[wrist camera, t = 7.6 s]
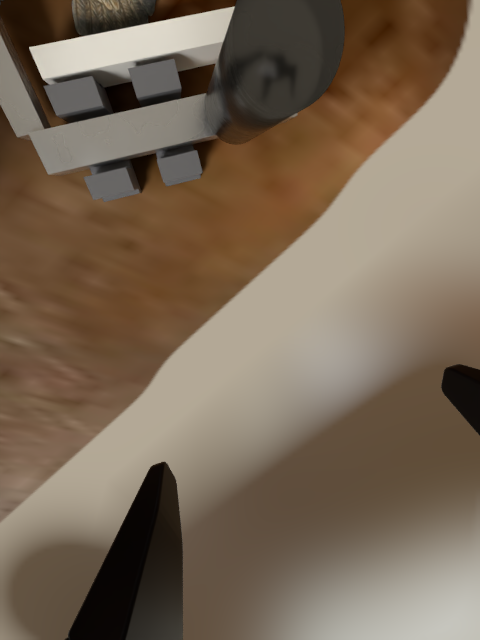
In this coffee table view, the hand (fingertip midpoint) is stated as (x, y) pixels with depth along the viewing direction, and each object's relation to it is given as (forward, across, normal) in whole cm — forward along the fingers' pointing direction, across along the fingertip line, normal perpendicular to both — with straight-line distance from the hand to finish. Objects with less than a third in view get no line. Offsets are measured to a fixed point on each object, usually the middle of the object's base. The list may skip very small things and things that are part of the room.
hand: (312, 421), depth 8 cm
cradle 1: (+13, +5, -9) cm, 17 cm away
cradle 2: (+13, +2, -9) cm, 16 cm away
